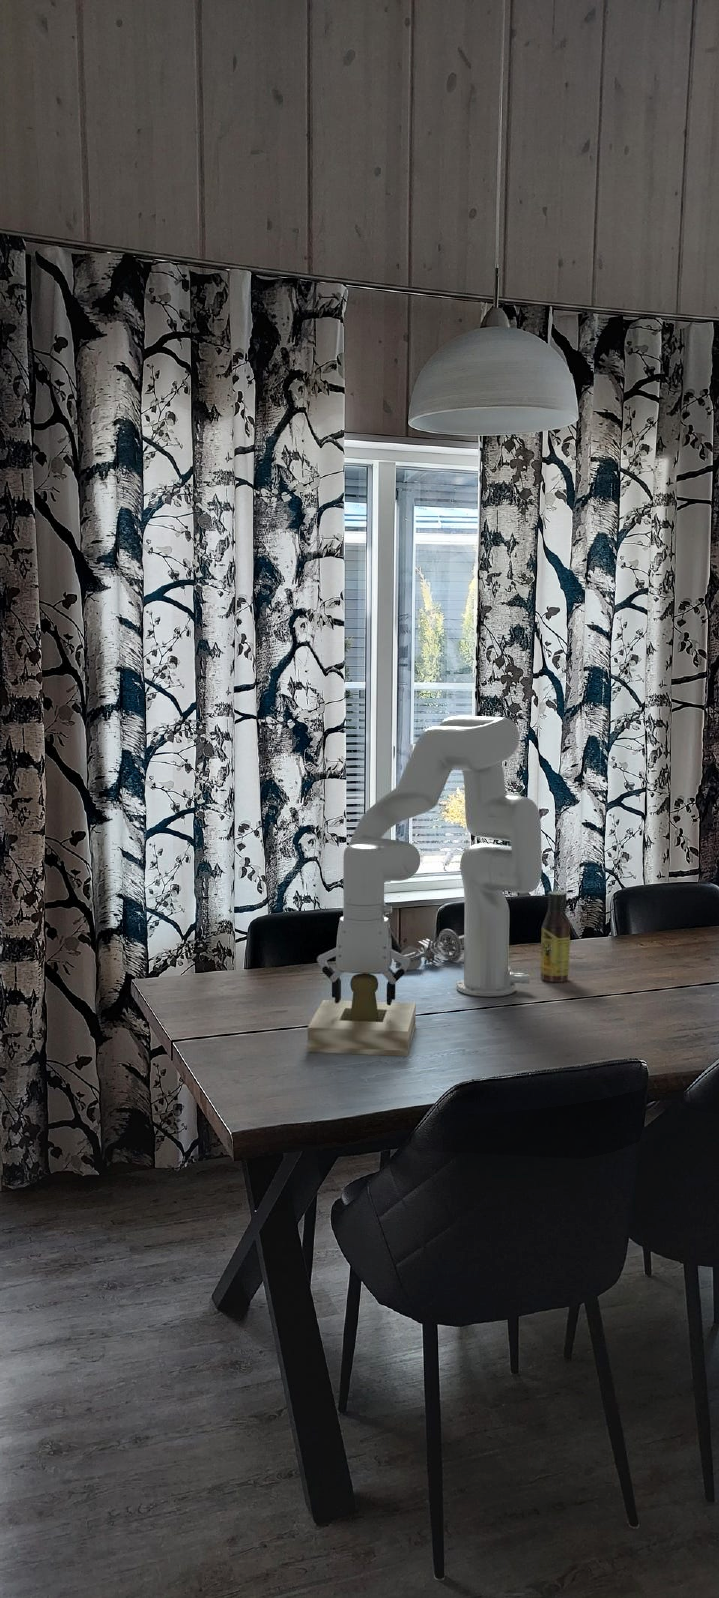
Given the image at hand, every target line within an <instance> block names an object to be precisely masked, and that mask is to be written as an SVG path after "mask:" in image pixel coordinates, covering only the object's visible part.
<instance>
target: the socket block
mask: <svg viewBox="0 0 719 1598" xmlns="http://www.w3.org/2000/svg"><path fill="white" fill-rule="evenodd" d="M376 1002H377V1010H378V1018H379V1022H366V1021H350V1014H351V1006H352V1000H342V999H341V1000H340V1002H339V1003H335V999H323V1000H322V1002H321V1003H320V1005H319V1006H318V1008H317V1010H316V1011H315V1014H314V1015H313V1017H312V1019H311V1021H310V1023H309V1024H308V1026H307V1052H308V1053H322V1054H323V1053H325V1054H343V1055H344V1054H349V1055H351V1054H352V1055H366V1056H367V1055H369V1056H370V1055H372V1056H373V1055H375V1056H391V1057H392V1056H393V1057H394V1056H395V1057H396V1056H397V1057H408V1056H409V1053H410V1049H411V1045H412V1040H413V1037H414V1034H415V1029H416V1023H417V1021H416V1019H417V1018H416V1017H417V1016H416V1012H417V1011H416V1010H417V1009H416V1008H417V1007H416V1006H417V1004H416V1002H396V1001H395V1002H393V1001H392V1003H391V1005H387V1001H376Z"/></svg>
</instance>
